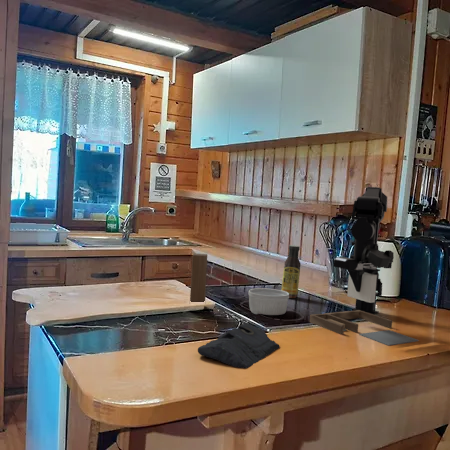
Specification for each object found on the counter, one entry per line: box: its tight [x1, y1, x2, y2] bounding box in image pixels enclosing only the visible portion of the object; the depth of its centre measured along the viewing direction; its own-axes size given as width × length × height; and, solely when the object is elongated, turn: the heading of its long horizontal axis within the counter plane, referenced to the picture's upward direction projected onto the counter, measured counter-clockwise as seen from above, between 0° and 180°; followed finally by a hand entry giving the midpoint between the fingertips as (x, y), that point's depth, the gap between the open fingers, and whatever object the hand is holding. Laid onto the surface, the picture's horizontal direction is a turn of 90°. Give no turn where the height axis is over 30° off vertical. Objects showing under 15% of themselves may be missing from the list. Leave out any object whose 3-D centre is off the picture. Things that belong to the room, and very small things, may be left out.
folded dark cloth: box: [197, 322, 281, 369], centre depth 111 cm, size 15×22×5 cm
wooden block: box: [189, 252, 208, 302], centre depth 150 cm, size 9×4×18 cm, turn 0°
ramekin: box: [248, 287, 290, 316], centre depth 150 cm, size 13×13×7 cm
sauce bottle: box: [280, 244, 301, 299], centre depth 177 cm, size 6×6×20 cm
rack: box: [309, 310, 393, 335], centre depth 138 cm, size 20×13×3 cm, turn 120°
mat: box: [358, 329, 420, 347], centre depth 127 cm, size 12×10×1 cm
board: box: [346, 273, 377, 303], centre depth 138 cm, size 2×9×8 cm, turn 30°
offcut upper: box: [327, 319, 345, 330], centre depth 134 cm, size 3×6×2 cm, turn 31°
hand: (360, 291), depth 139 cm, fingers closed on board, 2 cm apart
